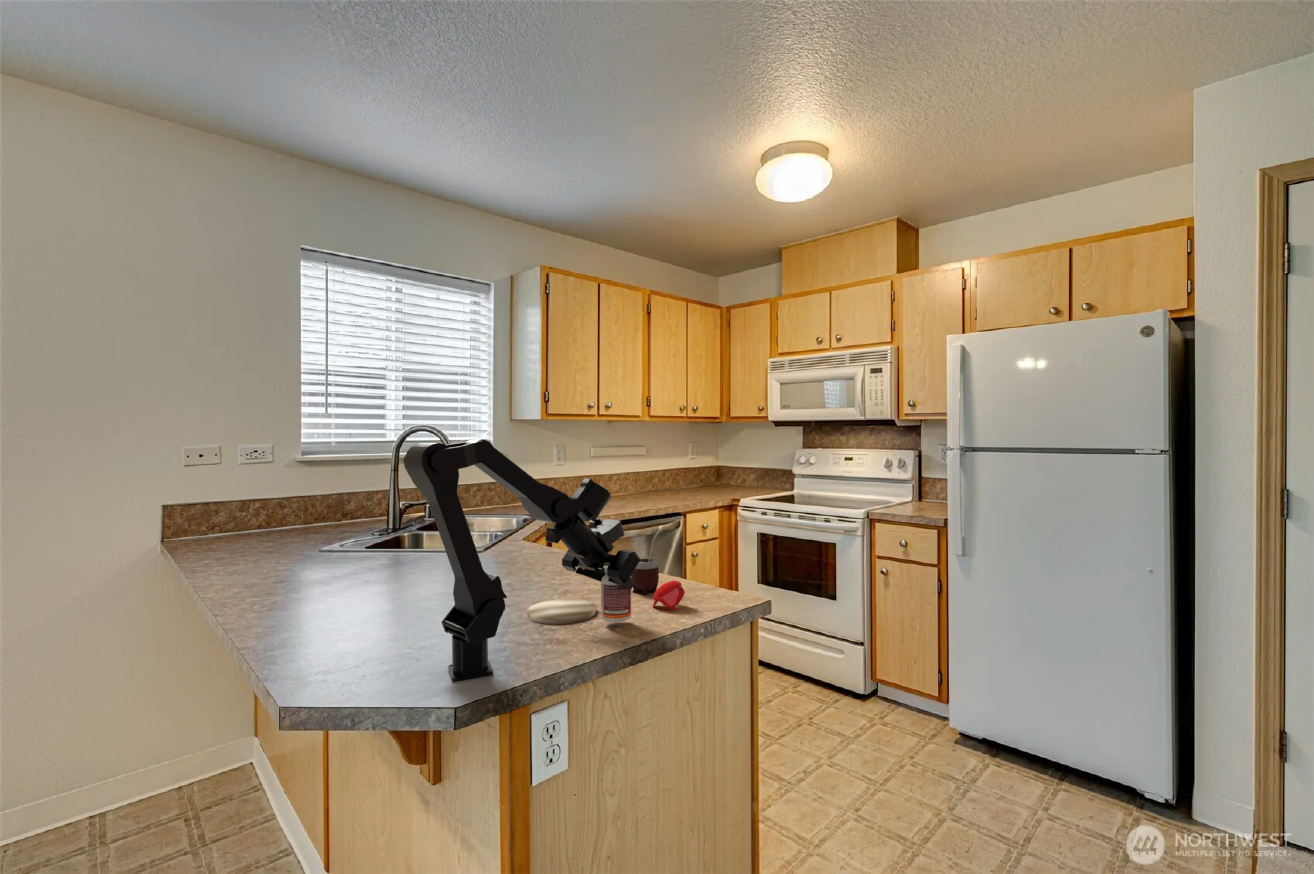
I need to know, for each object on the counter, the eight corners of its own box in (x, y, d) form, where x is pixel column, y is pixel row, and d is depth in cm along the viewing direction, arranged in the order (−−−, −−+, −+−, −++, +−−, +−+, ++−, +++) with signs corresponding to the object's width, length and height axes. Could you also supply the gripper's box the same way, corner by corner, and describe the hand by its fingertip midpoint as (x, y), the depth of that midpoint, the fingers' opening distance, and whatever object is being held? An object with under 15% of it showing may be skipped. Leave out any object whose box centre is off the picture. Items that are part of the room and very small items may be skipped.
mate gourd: (630, 596, 145) (629, 535, 145) (632, 587, 153) (631, 530, 153) (660, 595, 145) (659, 534, 145) (661, 587, 153) (660, 529, 153)
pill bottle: (636, 619, 122) (636, 566, 122) (610, 624, 118) (610, 569, 119) (621, 612, 127) (621, 561, 127) (596, 617, 124) (595, 564, 124)
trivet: (605, 617, 128) (605, 612, 128) (537, 628, 121) (536, 622, 121) (584, 600, 141) (583, 595, 141) (521, 609, 135) (521, 604, 135)
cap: (689, 589, 138) (668, 575, 139) (688, 587, 132) (666, 572, 134) (670, 619, 136) (649, 604, 138) (668, 618, 130) (646, 602, 132)
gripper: (633, 510, 114) (672, 559, 122) (572, 504, 127) (611, 549, 134) (602, 557, 108) (645, 606, 116) (542, 545, 121) (584, 590, 129)
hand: (621, 585), depth 124 cm, fingers closed on pill bottle, 6 cm apart
